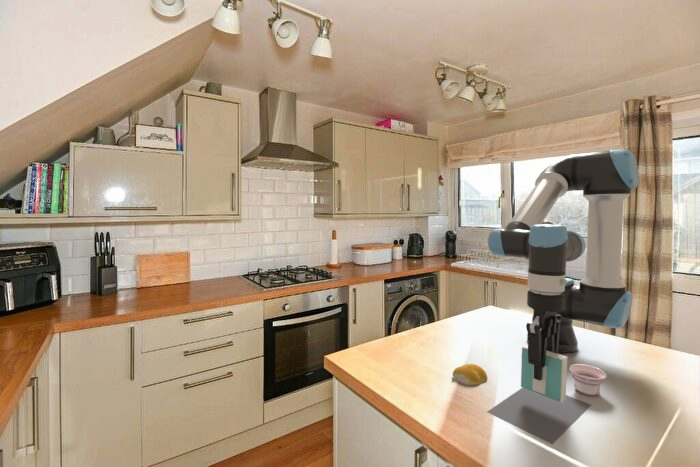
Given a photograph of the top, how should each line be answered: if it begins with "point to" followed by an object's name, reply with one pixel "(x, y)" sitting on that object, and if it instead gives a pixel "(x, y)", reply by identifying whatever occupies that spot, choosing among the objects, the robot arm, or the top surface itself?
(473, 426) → the top surface
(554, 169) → the robot arm
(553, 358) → the tile
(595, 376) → the teacup
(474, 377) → the bread roll
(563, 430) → the mat
